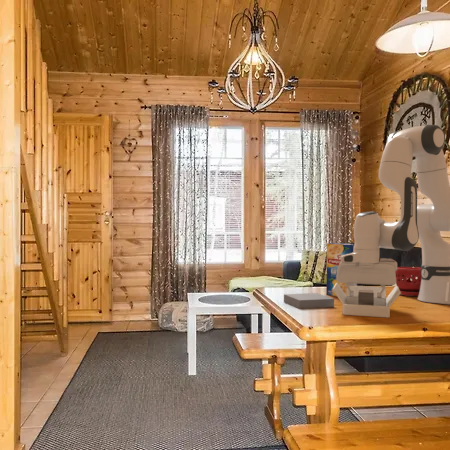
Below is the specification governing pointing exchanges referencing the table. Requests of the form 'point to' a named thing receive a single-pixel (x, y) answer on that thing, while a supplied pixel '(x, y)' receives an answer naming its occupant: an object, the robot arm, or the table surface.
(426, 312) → the table surface
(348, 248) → the blue cardboard box
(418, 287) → the plant pot
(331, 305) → the slate platform
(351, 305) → the carton
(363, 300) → the walnut block
